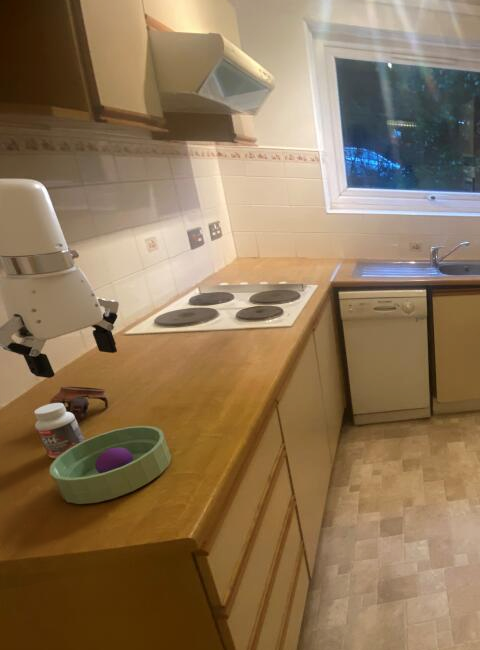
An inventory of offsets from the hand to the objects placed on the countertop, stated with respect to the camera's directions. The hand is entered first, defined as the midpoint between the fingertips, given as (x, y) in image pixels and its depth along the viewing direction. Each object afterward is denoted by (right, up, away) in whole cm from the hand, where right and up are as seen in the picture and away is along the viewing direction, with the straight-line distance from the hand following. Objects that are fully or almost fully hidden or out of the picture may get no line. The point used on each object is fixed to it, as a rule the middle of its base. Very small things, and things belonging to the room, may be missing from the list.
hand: (78, 363), depth 73 cm
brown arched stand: (-22, -14, +23) cm, 34 cm away
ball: (+2, -18, +4) cm, 19 cm away
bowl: (+2, -21, +5) cm, 22 cm away
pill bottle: (-14, -18, +12) cm, 26 cm away
